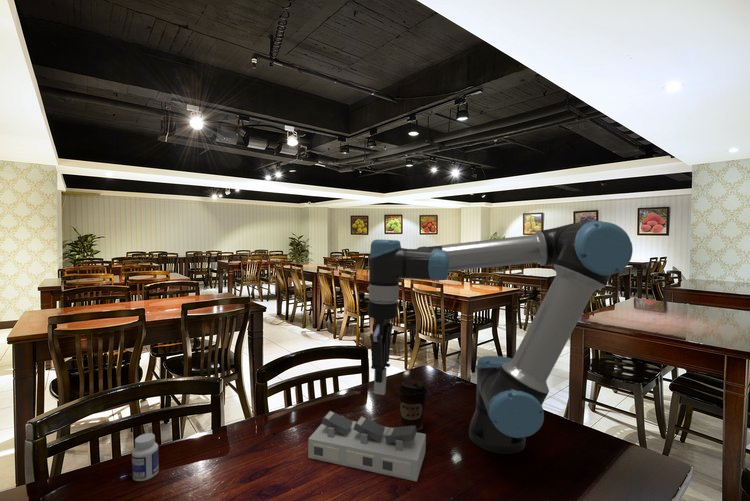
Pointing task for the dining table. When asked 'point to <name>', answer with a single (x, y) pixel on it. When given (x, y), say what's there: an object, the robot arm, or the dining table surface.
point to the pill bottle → (145, 457)
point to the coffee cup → (412, 403)
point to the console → (368, 452)
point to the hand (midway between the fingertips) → (379, 392)
